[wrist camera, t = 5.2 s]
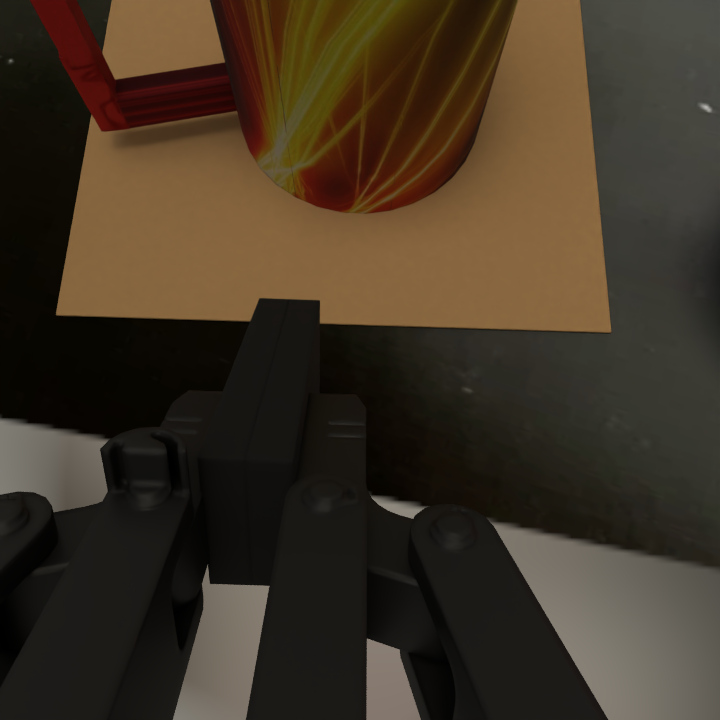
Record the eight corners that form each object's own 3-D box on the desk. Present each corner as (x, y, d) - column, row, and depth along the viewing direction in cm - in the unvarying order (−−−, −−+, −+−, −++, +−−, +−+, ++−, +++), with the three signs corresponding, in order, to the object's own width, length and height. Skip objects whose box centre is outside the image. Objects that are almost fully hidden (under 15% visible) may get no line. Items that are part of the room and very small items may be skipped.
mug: (102, 136, 25) (-103, -215, 14) (382, -24, 28) (405, -429, 16) (238, 322, 23) (131, 89, 12) (528, 130, 26) (674, -215, 14)
